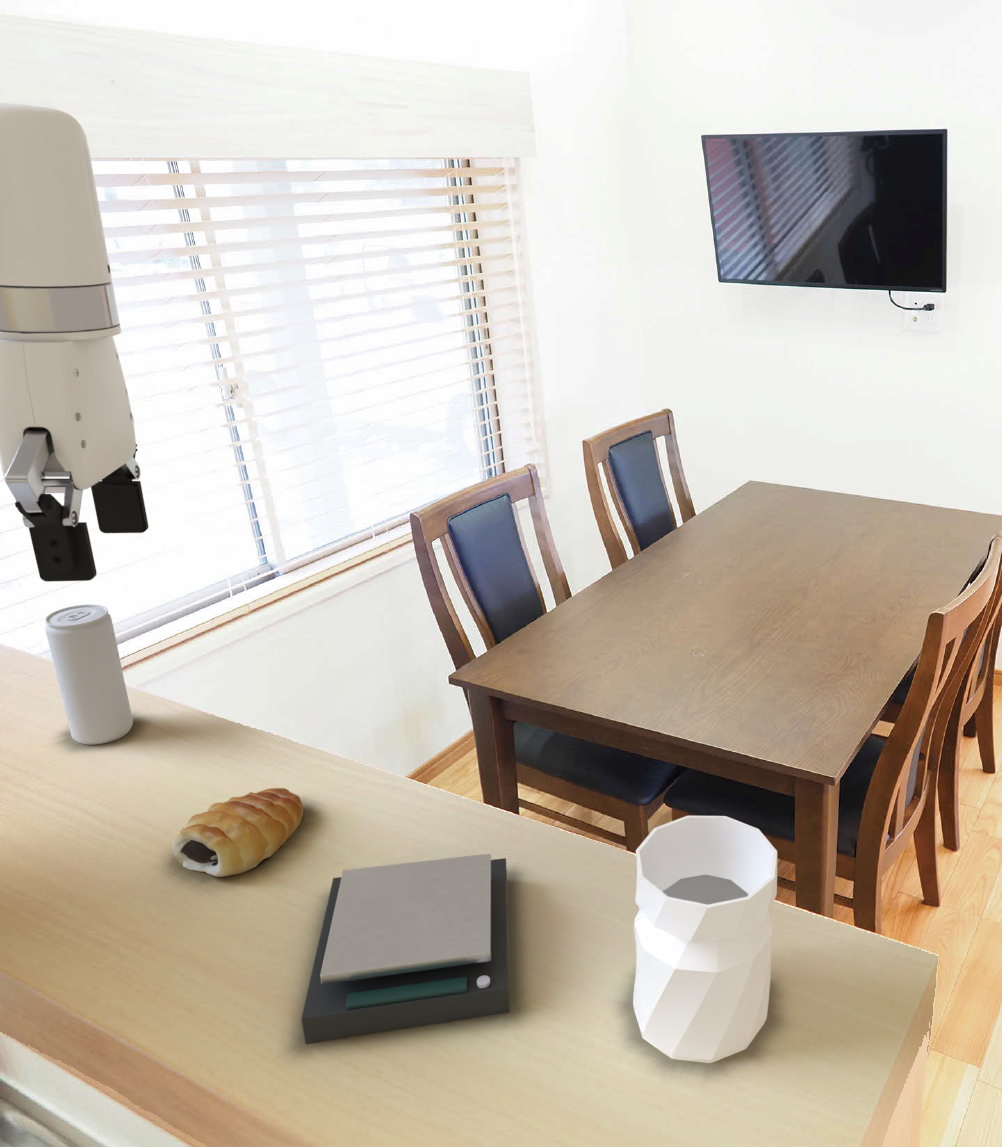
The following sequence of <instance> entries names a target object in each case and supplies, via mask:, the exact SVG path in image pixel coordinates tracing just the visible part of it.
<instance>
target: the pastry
mask: <svg viewBox="0 0 1002 1147" xmlns="http://www.w3.org/2000/svg"><path fill="white" fill-rule="evenodd" d="M301 799H302V798H301V797H300V796H299V795H298V794H295V793H293V792H290V790H288V789H287V788H285V787H271V788H266V789H262V790H260V791H258V792H248V793H247V794H245V795H242V796H232V797H230V798H229V799H227V801H224V802H214V803H212V804H211V805H210V806H209V807H208V809H207V810H206V811H204V812H201V813H196V814H194V815H192V816H191V818H190V819H189V820H188V821H187V823H186V826H185V827H183V828H181V829H180V830H179V833H178V834H177V836H176V837H175V838H174V840H173V844H172V845H171V847H170V851H171V856H172V857H173V859H175V860H176V861H178V862H179V864H180V865H182V867H183V868H185V869H187V870H189V871H194V872H195V871H196V872H199V873H207V875H211V876H213V877H218V878H219V877H230V876H234V875H236V876H237V875H241V874H243V873H246V872H248V871H250V870H252V869H255V868H257V866H259V864H260V863H261V862H262V861H263V860H265V859H270V857H272V856H273V855H274V854H275V853H276V852H277V851H279V849H280V847H281V846H282V845H284V844H285V843H286V841H287V840H288V839H289V838H290V837H291V836H292V835H293V834H294V833H295V831H296V830H297V829H298V827H299V826H300V824H301V822H302V819H303V816H304V805H303V802H302V800H301Z"/></svg>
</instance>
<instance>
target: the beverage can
mask: <svg viewBox="0 0 1002 1147" xmlns="http://www.w3.org/2000/svg"><path fill="white" fill-rule="evenodd" d="M44 622H45V627H44V629H45V634H46V637H47V642H48V647H49V651H50V654H51V659H52V663H53V666H54V671H55V675H56V679H57V683H58V687H59V692H60V695H61V699H62V703H63V708H64V711H65V715H66V720H67V723H68V729H69V732H70V736H71V739H72V740H74V741H75V742H77V743H79V744H82V745H90V746H92V745H103V744H107V743H111V742H114V741H116V740H118V739H121V738H122V737H124V736H126V735H127V734H128V733H129V732H130V731H131V729H132V727H133V724H134V719H133V715H132V708H131V705H130V700H129V696H128V692H127V687H126V683H125V682H126V681H125V677H124V672H123V667H122V664H121V658H120V652H119V648H118V642H117V638H116V633H115V628H114V624H113V619H112V616H111V614H110V613H109V610H108V608H107V607H106V606H104V605H101V604H79V605H71V606H67V607H64V608H61V609H58V610H55V611H53V612H51V613H49V614H48V615H47V616H46V617H45V618H44Z"/></svg>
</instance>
